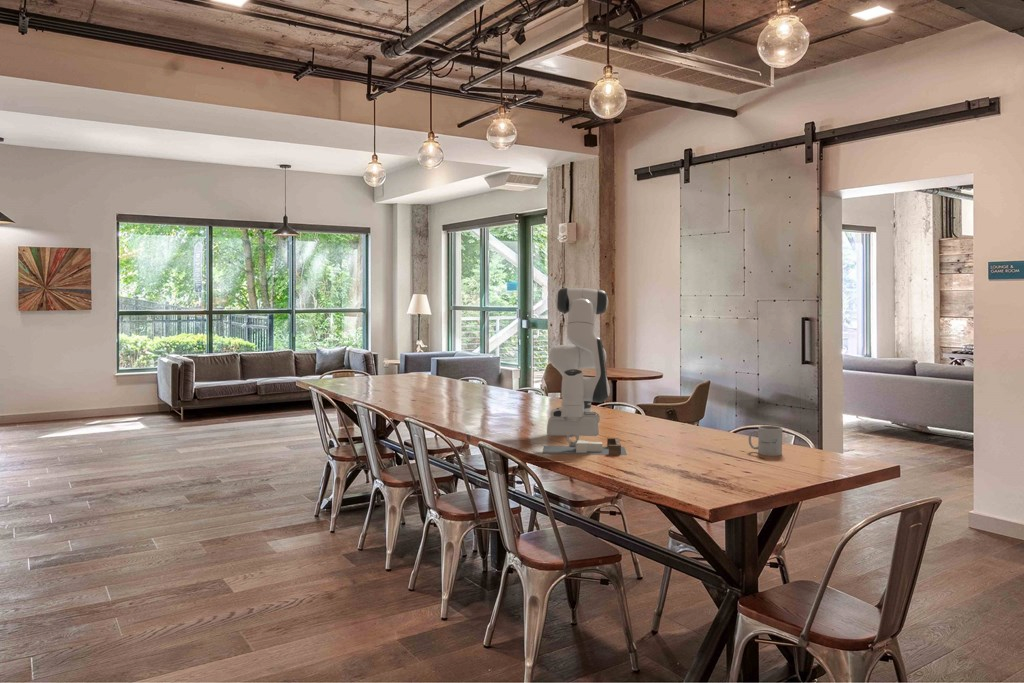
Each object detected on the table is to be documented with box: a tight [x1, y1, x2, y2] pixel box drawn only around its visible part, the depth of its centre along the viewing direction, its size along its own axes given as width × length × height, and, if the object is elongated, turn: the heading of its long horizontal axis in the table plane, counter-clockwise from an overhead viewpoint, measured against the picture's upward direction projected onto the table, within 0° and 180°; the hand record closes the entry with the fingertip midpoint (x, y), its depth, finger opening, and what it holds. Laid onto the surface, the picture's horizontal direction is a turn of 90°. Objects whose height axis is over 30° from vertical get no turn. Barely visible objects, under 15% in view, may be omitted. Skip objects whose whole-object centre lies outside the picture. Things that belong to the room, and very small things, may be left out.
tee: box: [576, 439, 603, 453], centre depth 291 cm, size 9×10×3 cm
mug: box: [748, 425, 783, 457], centre depth 288 cm, size 12×9×10 cm
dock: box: [606, 437, 622, 456], centre depth 290 cm, size 16×4×4 cm, turn 175°
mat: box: [541, 445, 628, 456], centre depth 292 cm, size 16×32×1 cm, turn 85°
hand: (572, 447), depth 292 cm, fingers closed
